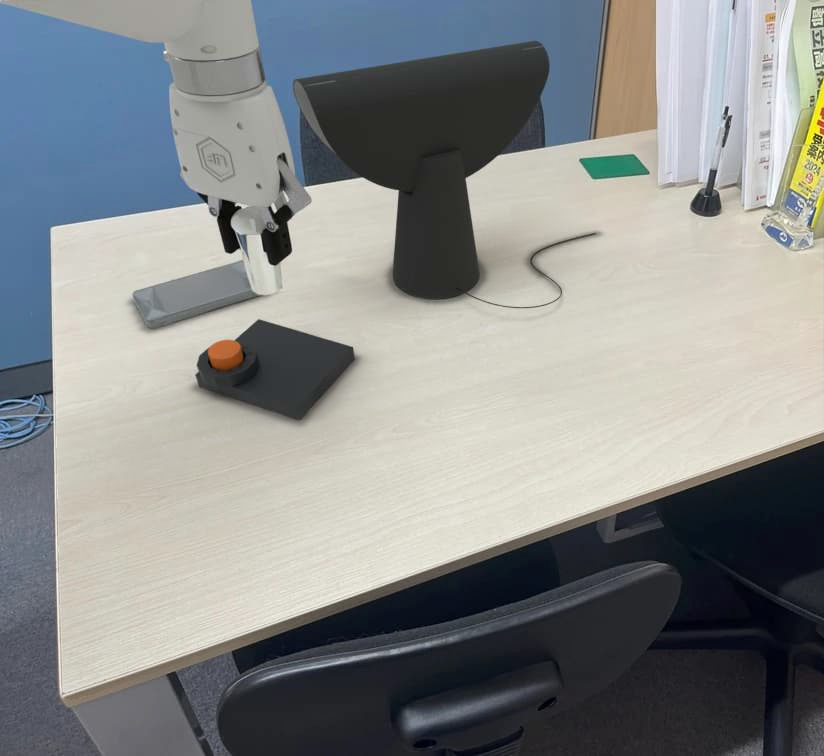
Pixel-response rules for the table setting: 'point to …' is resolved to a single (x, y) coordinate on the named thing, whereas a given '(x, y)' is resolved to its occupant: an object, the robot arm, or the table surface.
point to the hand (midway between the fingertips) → (258, 251)
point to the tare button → (225, 354)
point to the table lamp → (429, 146)
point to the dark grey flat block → (278, 369)
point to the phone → (193, 294)
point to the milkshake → (255, 251)
